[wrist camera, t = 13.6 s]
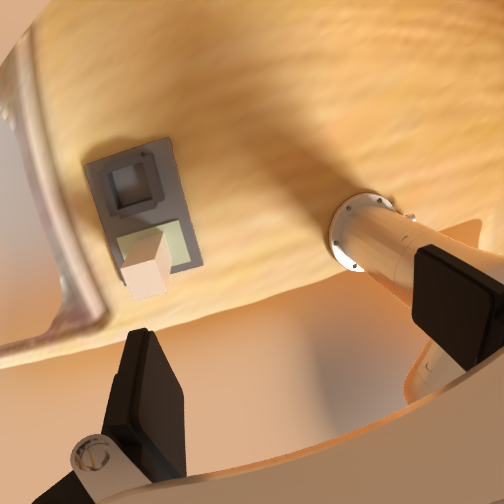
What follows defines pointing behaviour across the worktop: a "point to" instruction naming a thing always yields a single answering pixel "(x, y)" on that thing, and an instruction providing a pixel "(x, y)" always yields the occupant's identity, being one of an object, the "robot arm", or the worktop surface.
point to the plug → (147, 267)
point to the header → (144, 203)
